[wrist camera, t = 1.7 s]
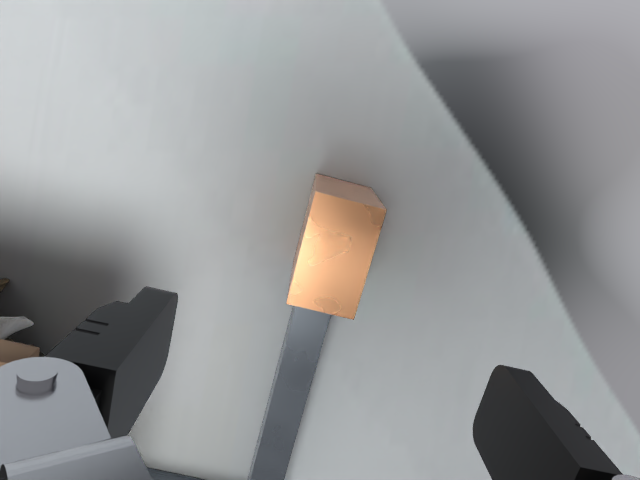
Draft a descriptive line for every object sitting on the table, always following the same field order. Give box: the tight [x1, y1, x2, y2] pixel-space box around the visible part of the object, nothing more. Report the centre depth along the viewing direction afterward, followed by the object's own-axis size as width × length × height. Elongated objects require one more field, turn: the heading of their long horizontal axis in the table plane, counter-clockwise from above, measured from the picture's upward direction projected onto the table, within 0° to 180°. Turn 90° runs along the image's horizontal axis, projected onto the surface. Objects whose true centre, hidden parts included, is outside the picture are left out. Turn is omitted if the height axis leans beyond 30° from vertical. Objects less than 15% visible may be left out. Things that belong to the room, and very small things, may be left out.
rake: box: [147, 174, 387, 480], centre depth 24 cm, size 12×22×6 cm, turn 166°
